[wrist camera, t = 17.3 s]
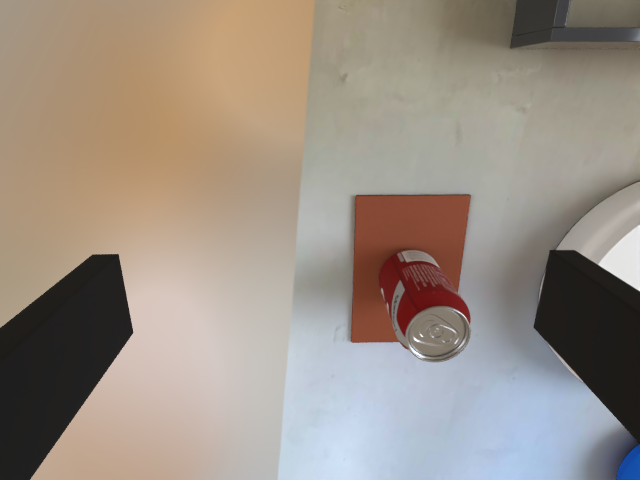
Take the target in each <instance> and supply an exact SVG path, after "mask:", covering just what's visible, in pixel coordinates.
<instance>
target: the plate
mask: <svg viewBox="0 0 640 480" xmlns="http://www.w3.org/2000/svg"><path fill="white" fill-rule="evenodd" d="M556 250H575V251H577V252H579V253H580V254H582V255H583V256H585V257H586V258H588V259H590V260H591V261H593V262H594V263H596V264H598V265H599V266H601V267H602V268H604V269H605V270H607V271H609V272H610V273H612V274H613V275H615V276H616V277H618V278H620V279H621V280H623V281H624V282H626V283H628V284H629V285H631V286H632V287H634V288H635V289H637V290H639V291H640V181H639V182H637V183H634V184H632V185H630V186H628V187H626V188H624V189H622V190H620V191H618V192H616V193H615V194H613V195H611V196H610V197H608V198H606V199H605V200H603V201H602V202H601V203H599V204H598V205H596V206H595V207H594V208H593V209H591V210H590V211H589V212H588V213H587V214H586V215H584V216H583V217H582V218H581V219H580V220H579V221H578V222H577V223H576V224H575V225H574V226H573V228H572V229H571V230H570V231H569V232H568V233H567V235H566V236H565V237H564V238H563V240H562V241H561V243H560V244H559V246H558V247H557V249H556ZM545 271H546V270H545ZM544 276H545V273H544ZM544 276H543V279H542V282H541V287H540V291H539V299H540V295H541V290H542V285H543V281H544ZM538 304H539V300H538ZM548 345H549V344H548ZM549 346H550V345H549ZM550 348H551V350H552V351H553V352H554V353H555V355H556V356H557V357H558V358H559V359H560V360H561V362H562V363H563V364H564V365H565V366H566V367H567V368H568V369H569V370H570V372H572V373H573V374H574V375H575V376H576V377H577V378H578V379H579V380H581V379H580V378H579V376H578V375H577V374H576V373H575V372H574V371H573V370H572V369H571V368H570V367H569V366H568V364H567V363H566V362H565V361H564V360H563V359H562V358H561V357H560V356H559V355H558V354H557V352H556V351H555V350H554V349H553V348H552V347H551V346H550ZM581 381H582V380H581ZM582 382H583V381H582Z"/></svg>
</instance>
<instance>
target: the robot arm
mask: <svg viewBox="0 0 640 480" xmlns="http://www.w3.org/2000/svg"><path fill="white" fill-rule="evenodd" d="M534 328H535V329H536V331H537V332H538V333H539V334H540V335H541V336H542V337H543V338H544V339H545V340H546V341H547V343H548V344H549V345H550V346H551V347H552V348H553V349H554V350H555V351H556V352H557V354H558V355H559V356H560V357H561V358H562V359H563V360H564V361H565V362H566V363H567V364H568V366H569V367H570V368H571V369H572V370H573V371H574V372H575V373H576V374H577V375H578V376H579V378H580V379H581V380H582V381H583V382H584V383H585V384H586V385H587V386H588V387H589V389H590V390H591V391H592V392H593V393H594V394H595V395H596V396H597V397H598V398H599V399H600V401H601V402H602V403H603V404H604V405H605V406H606V407H607V408H608V409H609V410H610V412H611V413H612V414H613V415H614V416H615V417H616V418H617V419H618V420H619V421H620V422H621V424H622V425H623V426H624V427H625V428H626V429H627V430H628V431H629V432H630V433H631V435H632V436H633V437H634V438H635V439H636V440H637V441H638V442H639V443H640V291H639V290H637V289H635V288H634V287H632V286H631V285H629V284H628V283H626V282H624V281H623V280H621V279H620V278H618V277H616V276H615V275H613V274H612V273H610V272H609V271H607V270H605V269H604V268H602V267H601V266H599V265H598V264H596V263H594V262H593V261H591V260H590V259H588V258H586V257H585V256H583V255H582V254H580V253H579V252H577V251H575V250H550V252H549V257H548V262H547V266H546V271H545V276H544V281H543V285H542V290H541V295H540V299H539V304H538V309H537V313H536V318H535V323H534ZM132 334H133V328H132V323H131V318H130V313H129V308H128V302H127V297H126V291H125V286H124V281H123V276H122V270H121V265H120V260H119V255H118V254H105V255H103V254H102V255H92V256H90V257H89V258H88V259H87V260H85V261H84V262H83V263H82V264H80V265H79V266H78V267H77V268H75V269H74V270H73V271H71V272H70V273H69V274H68V275H66V276H65V277H64V278H63V279H61V280H60V281H59V282H58V283H56V284H55V285H54V286H53V287H51V288H50V289H49V290H48V291H46V292H45V293H44V294H43V295H41V296H40V297H39V298H38V299H36V300H35V301H34V302H32V303H31V304H30V305H29V306H28V307H26V308H25V309H24V310H22V311H21V312H20V313H19V314H17V315H16V316H15V317H14V318H13V319H11V320H10V321H9V322H7V323H6V324H5V325H4V326H2V327H1V328H0V480H30V479H31V477H32V476H33V475H34V473H35V472H36V470H37V469H38V467H39V466H40V465H41V463H42V462H43V460H44V459H45V458H46V456H47V454H48V453H49V452H50V450H51V449H52V448H53V446H54V445H55V443H56V442H57V441H58V439H59V438H60V436H61V435H62V433H63V432H64V431H65V429H66V428H67V426H68V425H69V423H70V422H71V421H72V419H73V418H74V416H75V415H76V414H77V412H78V410H79V409H80V408H81V406H82V405H83V404H84V402H85V401H86V399H87V398H88V396H89V395H90V394H91V392H92V391H93V389H94V388H95V386H96V385H97V384H98V382H99V381H100V379H101V378H102V377H103V375H104V374H105V372H106V371H107V369H108V368H109V367H110V365H111V364H112V362H113V361H114V359H115V358H116V357H117V355H118V354H119V352H120V351H121V350H122V348H123V347H124V345H125V344H126V342H127V341H128V340H129V338H130V336H131V335H132Z"/></svg>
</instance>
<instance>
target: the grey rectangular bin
mask: <svg viewBox="0 0 640 480" xmlns="http://www.w3.org/2000/svg"><path fill="white" fill-rule="evenodd" d="M570 1H571V0H517V7H516V14H515V21H514V27H513V34H512V36H513V37H512V40H511V46H510V48H511V49H640V28H564V27H565V26H566V22H567V17H568V11H569V6H570Z"/></svg>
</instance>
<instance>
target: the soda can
mask: <svg viewBox="0 0 640 480" xmlns="http://www.w3.org/2000/svg"><path fill="white" fill-rule="evenodd" d="M378 282H379V287H380V290H381V292H382V295H383V298H384V301H385V304H386V307H387V310H388V313H389V316H390V319H391V322H392V325H393V328H394V331H395V334H396V336H397V339H398V340H399V342H400V343H401V344H402V346H403V347H405V348H406V349H407V350H409V351H410V352H411V353H412V354H413V355H414V356H416V357H417V358H419V359H421V360H423V361H427V362H443V361H446V360H449V359H451V358H453V357H455V356H457V355H458V354H459V353H460V352H462V350H463V349H464V348H465V347H466V345H467V344H468V341H469V339H470V333H471V330H470V313H469V310H468V307H467V305H466V304H465V302H464V301H463V299H462V298H461V297H460V295H459V294H458V292H457V291H456V289H455V288H454V287H453V285H452V284H451V282H450V281H449V279H448V278H447V277H446V275H445V274H444V272H443V271H442V269H441V268H440V267H439V265H438V264H437V262H436V261H435V260H434V258H433V257H432V256H431V255H429V254H428V253H426V252H424V251H421V250H417V249H405V250H401V251H398V252H396V253H394V254H393V255H391V256H390V257H389V258H388V259H387V260H386V261H385V262H384V263H383V265H382V267H381V269H380V271H379V276H378Z"/></svg>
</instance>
